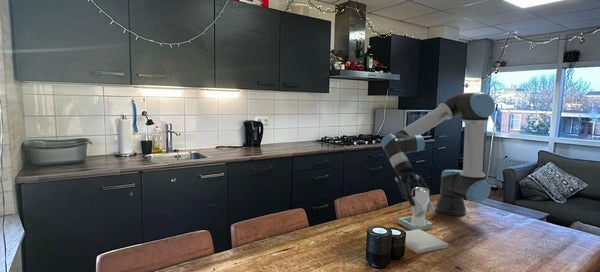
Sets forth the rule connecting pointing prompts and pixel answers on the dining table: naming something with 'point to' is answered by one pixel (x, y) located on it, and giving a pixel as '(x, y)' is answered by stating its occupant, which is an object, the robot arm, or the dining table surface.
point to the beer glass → (423, 202)
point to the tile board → (423, 241)
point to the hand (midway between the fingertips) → (426, 211)
